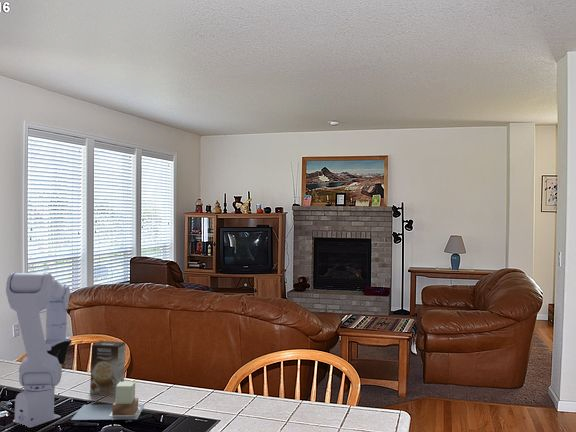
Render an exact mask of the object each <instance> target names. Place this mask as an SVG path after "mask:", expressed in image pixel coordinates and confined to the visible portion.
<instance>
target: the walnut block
mask: <svg viewBox="0 0 576 432" xmlns="http://www.w3.org/2000/svg"><path fill="white" fill-rule="evenodd" d="M115 402H116V400H115V401H114V402H113V404H112V405H113V407H112V415H134V414H135V412H136V411H137V409H138V404H139V397H135V399H134V401H133V402H132V404H115Z"/></svg>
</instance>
